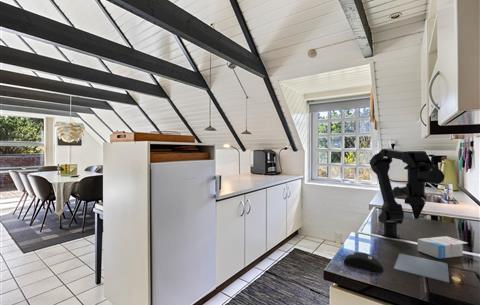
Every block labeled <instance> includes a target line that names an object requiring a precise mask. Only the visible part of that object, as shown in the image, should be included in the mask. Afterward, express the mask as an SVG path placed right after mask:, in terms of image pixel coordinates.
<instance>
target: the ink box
mask: <svg viewBox="0 0 480 305" xmlns="http://www.w3.org/2000/svg"><path fill="white" fill-rule="evenodd" d="M463 244H464V245H465V244H469V243H468V242H467V241H463V240H460V239H457V238H453V237H451V236H447V235H445V236H436V237H425V238H417V252H421V253H423V254H426V255H428V256H431V257H433V258H436V259H438V260H441V259H448V258H457V257H463V256H464V253H463V252H464V251H463Z"/></svg>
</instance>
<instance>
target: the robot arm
mask: <svg viewBox="0 0 480 305" xmlns="http://www.w3.org/2000/svg"><path fill="white" fill-rule="evenodd" d="M393 159H396V160H401V161H402V162H403V163H404V164H406V166H405V167H404V168H403V169H404V170H407V183H406V184H405V186H400V187H399V186H396V187H393V188H392V184H391V180H390V176H389V171H390V169H391V163H393ZM369 165H370V168H371V170H372V172H373V173H374V174H375V175H376V177H377V181H378V184H379V189H380V192H381V196H382V197H381V198H382V202H383V204H382V206H381V213H380V214H379V215H378V217H377V218H378V222H379V223H381V224H383V232H382V233H381V236H384V237H390V238H395V239H398V238H399V236H400V233H398V224H401V225H402V224H403V221H404V218H405V212H404V210H403V205H402V204H401V203H398V202H397V201H396V199H395V198H397V197H400V196H404V195H405V197H404V204H406V205H409V206H410V207H411V210H412V215H413V218H414V219H415V220H418V219H419V218H420V216H421V214H422V211H423V209H424V207H425V205H426V202H427V201H426V200H427V199H428V198H427V197H428V196H427V194H426V184H434V185H440V184H441V183H443V181H444V180H445V174H444V172H443V171H442V169H440V167H439V165H435V164H434V163H433V162H432V160H431V159H430V157H429V155H428V154H427V151H425V150H399V149H393V148H382V149H381V150H380V151H379V152H377V153H376V154H374V155H373V156H372V157H371V159H370V160H369Z"/></svg>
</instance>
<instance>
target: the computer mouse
mask: <svg viewBox="0 0 480 305" xmlns="http://www.w3.org/2000/svg"><path fill="white" fill-rule="evenodd" d="M343 264H344V265H345V266H348V267H352V268H356V269H358V270H362V271H367V272H373V273H374V272H375V273H381V272H383V271H384V267H383V264H382V263H380V261H379V260H378V259H377V258H376V257H374V256H373V255H372V254H368V253H366V252H363V251H362V252H350V253H349V254H347V255H346V256H345V258H344V259H343Z"/></svg>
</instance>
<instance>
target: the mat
mask: <svg viewBox="0 0 480 305" xmlns="http://www.w3.org/2000/svg"><path fill="white" fill-rule="evenodd" d="M448 266H449V265H448V263H447V262H443V261H437V260H433V259H428V258H423V257H419V256H414V255H408V254H404V253H398V257H397V259H396V261H395V264H394V266H393V270H397V271H401V272H405V273H408V274H413V275H416V276H420V277H425V278H429V279H431V280H437V281H440V282H445V283H450V274H449V267H448Z"/></svg>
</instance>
